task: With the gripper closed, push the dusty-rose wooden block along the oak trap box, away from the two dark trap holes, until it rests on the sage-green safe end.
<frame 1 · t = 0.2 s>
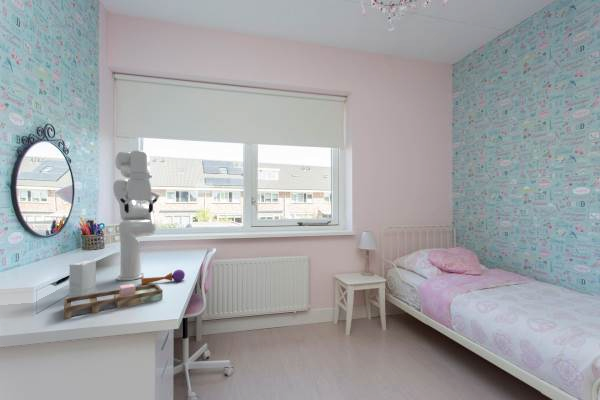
hand: (138, 212, 131), 36 cm above the table, tool pointing down, fingers open, 9 cm apart
trap box: (115, 303, 112), on the table
rose block: (127, 295, 114), point 2 cm above the table, touching trap box
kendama: (163, 283, 142), on the table
skincare box: (82, 296, 121), on the table
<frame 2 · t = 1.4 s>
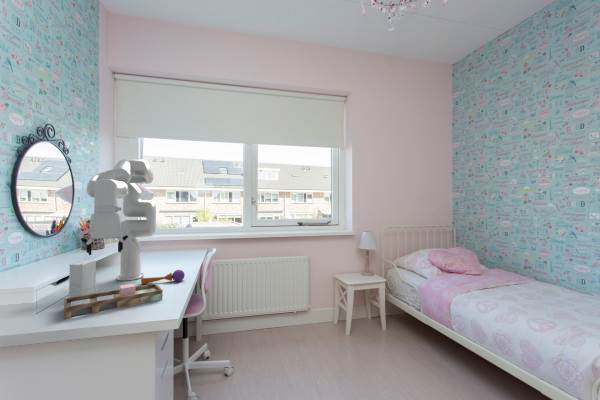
hand: (105, 253, 109), 21 cm above the table, tool pointing down, fingers open, 9 cm apart
nothing on the table moved.
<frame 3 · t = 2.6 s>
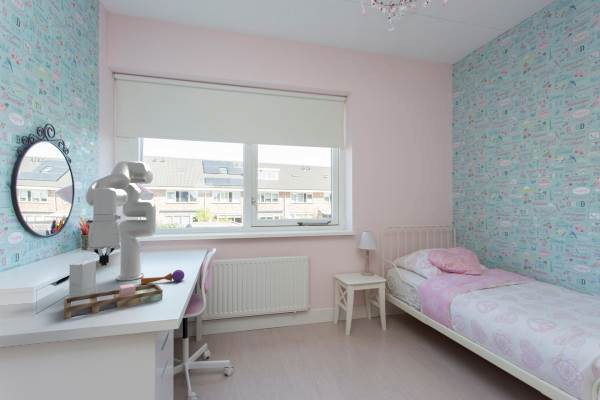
hand: (103, 265, 109), 16 cm above the table, tool pointing down, fingers closed
nothing on the table moved.
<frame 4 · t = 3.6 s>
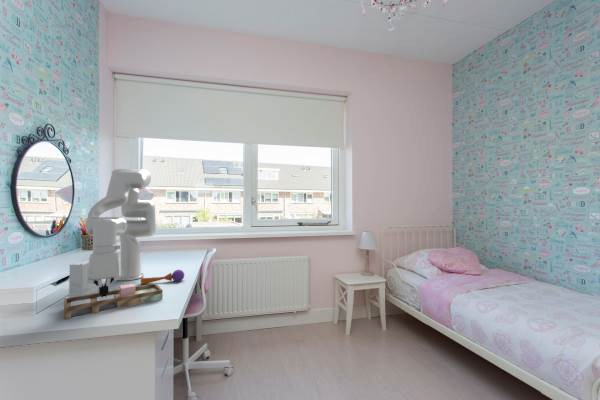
hand: (103, 295, 109), 4 cm above the table, tool pointing down, fingers closed
nothing on the table moved.
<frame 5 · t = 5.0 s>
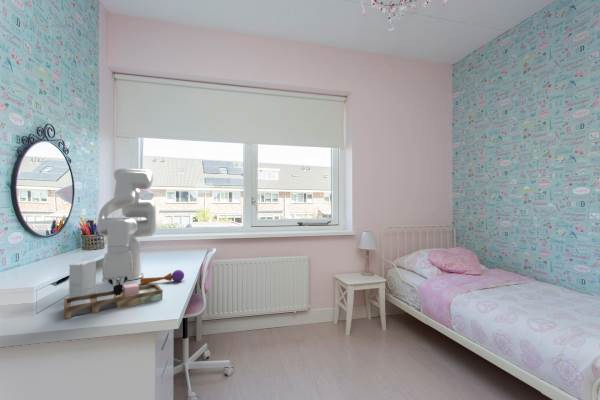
hand: (117, 294, 112), 4 cm above the table, tool pointing down, fingers closed
rose block: (130, 295, 115), point 3 cm above the table, touching gripper, trap box
everything else where it was.
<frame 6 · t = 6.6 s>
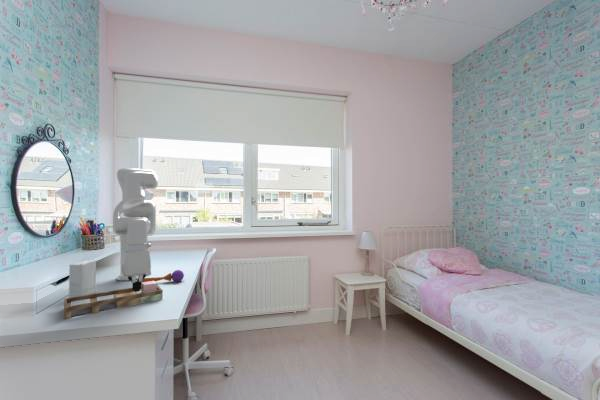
hand: (136, 291, 116), 4 cm above the table, tool pointing down, fingers closed
rose block: (149, 292, 119), point 2 cm above the table, touching gripper, trap box
everything else where it was.
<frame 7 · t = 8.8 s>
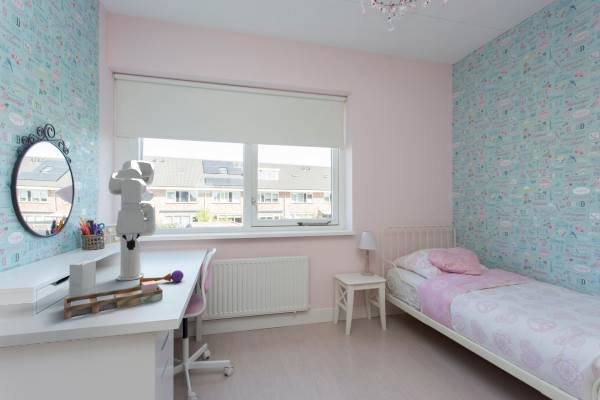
hand: (130, 249, 119), 21 cm above the table, tool pointing down, fingers closed
rose block: (149, 292, 119), point 2 cm above the table, touching trap box
everything else where it was.
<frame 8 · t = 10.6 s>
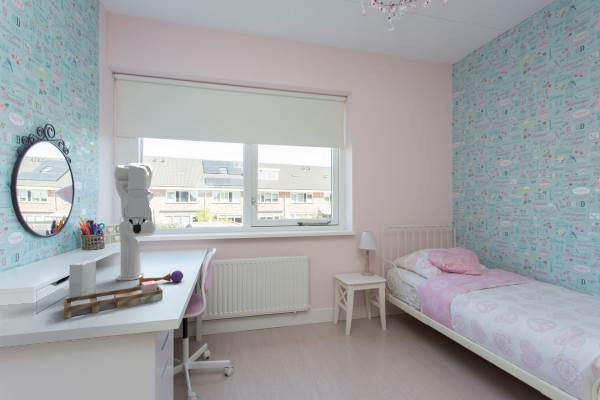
hand: (137, 233, 126), 27 cm above the table, tool pointing down, fingers closed
at the end: rose block 0.7 cm from the target spot on the trap box, point 2.5 cm above the trap box's base; rose block tilted 0°; rose block moved 8.0 cm from its start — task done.
